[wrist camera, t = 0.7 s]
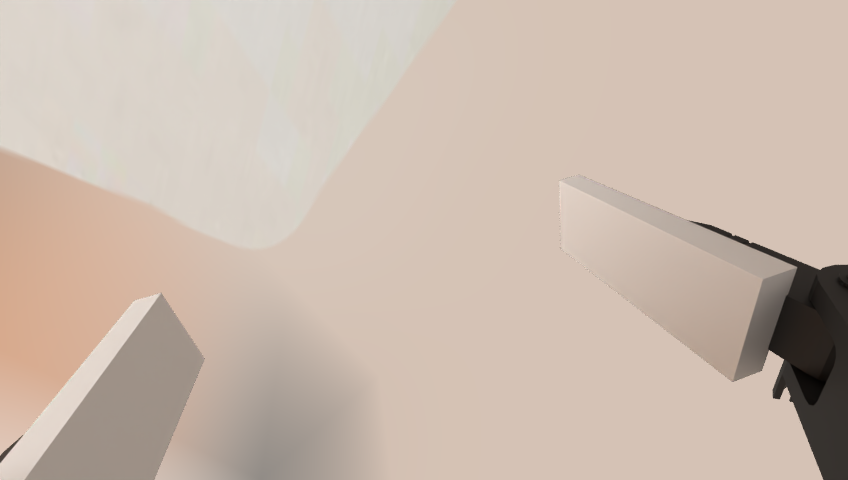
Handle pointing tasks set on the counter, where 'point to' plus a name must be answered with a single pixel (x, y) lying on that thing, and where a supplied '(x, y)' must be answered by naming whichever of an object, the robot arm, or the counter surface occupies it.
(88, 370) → the robot arm
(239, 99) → the counter surface
